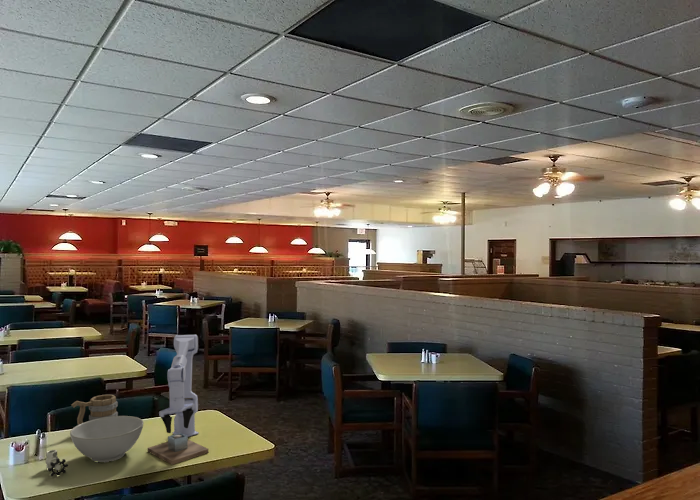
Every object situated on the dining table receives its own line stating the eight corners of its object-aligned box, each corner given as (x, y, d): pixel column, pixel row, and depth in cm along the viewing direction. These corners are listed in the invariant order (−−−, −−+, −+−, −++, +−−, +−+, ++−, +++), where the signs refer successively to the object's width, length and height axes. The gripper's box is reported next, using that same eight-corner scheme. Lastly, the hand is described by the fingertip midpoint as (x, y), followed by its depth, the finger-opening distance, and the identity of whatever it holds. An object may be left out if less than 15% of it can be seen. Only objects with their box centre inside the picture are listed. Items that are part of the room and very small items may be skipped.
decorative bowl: (73, 450, 221) (72, 421, 221) (142, 440, 231) (142, 412, 231) (67, 475, 196) (66, 443, 196) (145, 463, 207) (144, 432, 207)
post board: (147, 451, 218) (147, 435, 218) (183, 440, 230) (182, 425, 230) (171, 464, 205) (171, 447, 205) (208, 452, 216) (208, 436, 216)
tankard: (113, 421, 257) (112, 390, 257) (122, 427, 248) (121, 395, 248) (67, 431, 244) (67, 398, 244) (76, 438, 234) (75, 404, 234)
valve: (40, 469, 202) (48, 479, 193) (40, 452, 202) (48, 461, 193) (60, 464, 207) (68, 474, 198) (59, 447, 207) (68, 456, 198)
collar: (168, 448, 217) (167, 436, 217) (180, 444, 221) (180, 432, 221) (174, 452, 213) (174, 439, 213) (187, 448, 217) (187, 436, 217)
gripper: (165, 402, 209) (165, 437, 209) (198, 394, 220) (198, 427, 220) (156, 399, 214) (157, 433, 214) (189, 391, 225) (189, 423, 225)
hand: (177, 430), depth 217 cm, fingers open, 7 cm apart
